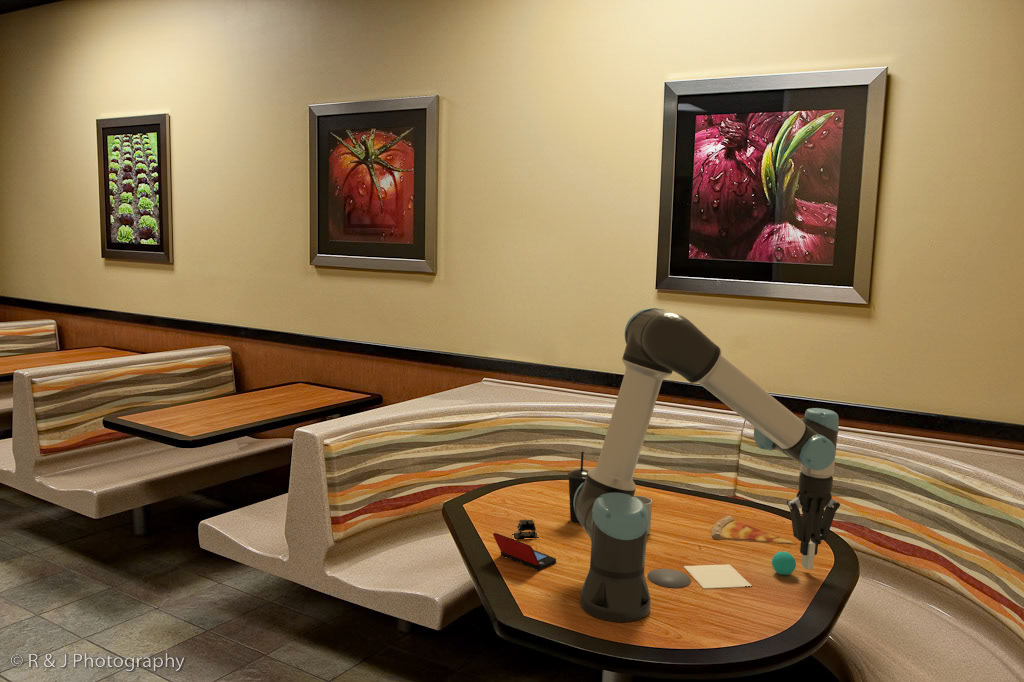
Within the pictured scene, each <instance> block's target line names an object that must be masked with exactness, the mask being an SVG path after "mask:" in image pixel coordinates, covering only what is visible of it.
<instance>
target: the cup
mask: <svg viewBox="0 0 1024 682" xmlns="http://www.w3.org/2000/svg"><path fill="white" fill-rule="evenodd" d="M634 497H636V498H638V499H639V500H641V501H642V502H643V503H644V504H645V506H646V508H647V513H648V528H647V534H648V535H649V534H650V532H651V525H652V512H653V511H652V510H653V500H652V499H651V498H649V497H647V496H643V495H634Z"/></svg>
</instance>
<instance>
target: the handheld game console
mask: <svg viewBox="0 0 1024 682" xmlns="http://www.w3.org/2000/svg"><path fill="white" fill-rule="evenodd" d="M492 536H493V538H494V540H495V542H496V545H497V546H498V548H499V551H500V557H502V556H504V557H507V558H509V559H508V560H510V559H511V560H510V561H512V560H513V562H516V561H518V562H517V563H520V562H521V563H520V564H522V563H523V564H522V565H523V566H525V567H527V566H528V567H527V568H530V569H532V568H533V570H534V569H535V571H538V572H539V571H541V570H544V569H547V568H548V567H550V566H553V565H554V563H555V564H556V563H557V558H556V557H554V556H551V555H549V554H545V553H543V552H540V551H538V550H535V549H534V548H533V547H532V546H531V545H529V544H528V543H524V542H522V541H520V540H514V539H512V537H508V536H507V535H506V536H505V535H502V534H500V533H497V532H493V534H492ZM504 557H503V558H504ZM507 558H506V559H507Z"/></svg>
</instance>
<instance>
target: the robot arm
mask: <svg viewBox="0 0 1024 682" xmlns="http://www.w3.org/2000/svg"><path fill="white" fill-rule="evenodd" d="M624 340H625V344H626V346H625V349H624V352H623V356H622V359H621V360H622V363H623V364H624V366H625V371H624V375H623V377H622V378H623V379H622V381H621V383H620V384H621V385H620V389H619V392H618V395H617V398H616V400H615V405H614V407H613V411H612V414H611V418H610V420H609V425H608V427H607V431H606V434H605V437H604V440H603V444H602V448H601V450H600V454H599V456H598V459H597V464H596V466H595V467H594V468H592V469H588V473H587V476H586V480H585V482H584V483H582V484H581V485H580V486H579V487H578V489H577V491H576V493H575V496H574V510H575V514H576V517H577V519H578V521H579V522H580V524H579V525H581V526H582V528H583V529H584V531H585V532H586V533H587V536H588V537H589V539H590V541H591V542H590V559H589V560H590V563H589V570H588V571H587V575H586V577H585V580H584V582H583V585H582V587H581V590H580V598H579V604H580V606H581V608H582V610H584V611H585V613H587V614H588V615H591V616H593V617H595V618H598V619H601V620H604V621H610V622H616V623H626V622H628V623H629V622H634V621H638V620H642V619H644V618H645V617H646V616H648V615H649V613H650V611H651V604H652V603H651V602H652V600H651V594H650V590H649V587H648V584H647V580H646V576H645V566H646V550H647V537H648V535H647V528H648V513H647V508H646V506H645V504H644V503H643V502H642V501H641V500H639V499H638V498H636V497H634V496H635V493H636V490H637V485H636V484H635V482H634V479H633V476H634V474H635V471H636V467H637V464H638V461H639V458H640V454H641V452H642V448H643V445H644V440H645V438H646V435H647V431H648V428H649V425H650V422H651V419H652V415H653V412H654V409H655V405H656V402H657V400H658V396H659V393H660V390H661V386H662V384H663V381H664V380H665V379H666V378H668V377H670V376H672V374H673V372H674V373H675V374H677V375H679V376H680V377H682V378H684V379H685V380H686V381H688V382H689V383H691V384H697V383H698V384H699V385H700V386H701V387H703V388H704V389H706V391H708V392H709V393H711V394H712V395H713V396H714V397H716V398H717V399H718V400H719V401H720V402H722V403H723V404H724V405H726V406H727V407H728V408H730V409H731V410H732V411H733V412H734V413H736V414H737V415H739V416H740V417H741V418H742V419H744V420H745V421H746V422H747V423H749V424H750V425H751V426H752V427H753V438H754V442H755V444H756V446H757V447H758V448H759V449H760V450H765V451H767V450H768V451H778V452H780V453H782V454H783V455H785V456H788V457H789V458H791V459H793V460H795V461H797V462H798V463H800V468H799V469H800V472H799V476H798V491H797V493H796V497H795V498H793V499H792V500H791V499H788V500H787V501H786V505H787V506H788V508H789V512H790V518H791V519H790V520H791V526H792V527H791V528H792V533H793V534H792V535H793V537H794V538H796V540H798V541H800V546H799V547H800V548H799V552H800V554H801V555H802V556H801V566H802V567H803V568H804V569H806V570H807V571H809V570H814V563H815V556H817V554H818V550H819V549H818V548H819V545H821V544H822V541H826V540H827V538H828V537H829V533H830V529H831V526H832V524H833V521H834V518H835V515H836V512H837V510H838V509H839V508H840V507H841V502H839V501H837V500H835V499H833V495H832V493H831V492H832V490H833V483H834V477H833V475H834V474H835V464H836V462H835V461H836V454H837V453H836V452H837V445H838V437H839V435H838V434H839V431H840V430H839V419H840V417H839V414H838V413H837V412H835V411H834V410H831V409H826V408H819V407H815V408H814V407H812V408H807V409H806V410H805V413H804V417H798V416H797V415H796V414H795V413H793V412H792V411H791V410H790V409H788V408H787V407H786V406H785V405H784V404H782V403H781V402H780V401H778V400H777V398H775V397H774V396H772V395H771V394H770V393H769V392H767V391H766V390H764V388H762V387H761V386H760V385H759V384H757V383H756V382H755V381H754V380H753V379H751V378H750V377H749V376H748V375H746V374H745V373H744V372H743V371H741V370H740V369H739V368H738V367H737V366H735V365H734V364H733V363H731V362H730V361H729V360H728V359H727V358H726V357H724V356H723V355H722V350H721V347H719V346H718V345H717V344H715V342H713V340H711V339H710V338H709V337H708V336H707V335H706V334H705V333H704V332H702V331H701V329H699V328H698V327H697V326H696V325H695V324H694V323H692V322H691V320H689V319H688V318H686V317H684V316H683V315H682V314H679V313H675V312H672V311H668V310H665V309H664V308H659V307H649V308H643V309H641V310H639V311H637V312H635V313H634V314H633V315H632V316H631V317H630V318H629V319H628V320H627V323H626V326H625V328H624ZM800 506H801V511H800ZM801 513H802V515H801Z"/></svg>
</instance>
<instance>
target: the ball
mask: <svg viewBox="0 0 1024 682" xmlns="http://www.w3.org/2000/svg"><path fill="white" fill-rule="evenodd" d="M771 564H772V565H771V567H772V568H773V570H774V571H775V572H776V573H777V574H780V575H781V576H789V575H791V574H792V573H794V571H795V570H796V567H797V563H796V560H795V557H794V555H793V554H791V553H790V552H789V551H783V550H782V551H778V552H776V553H775V554H774V555H773V556H772V559H771Z"/></svg>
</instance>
